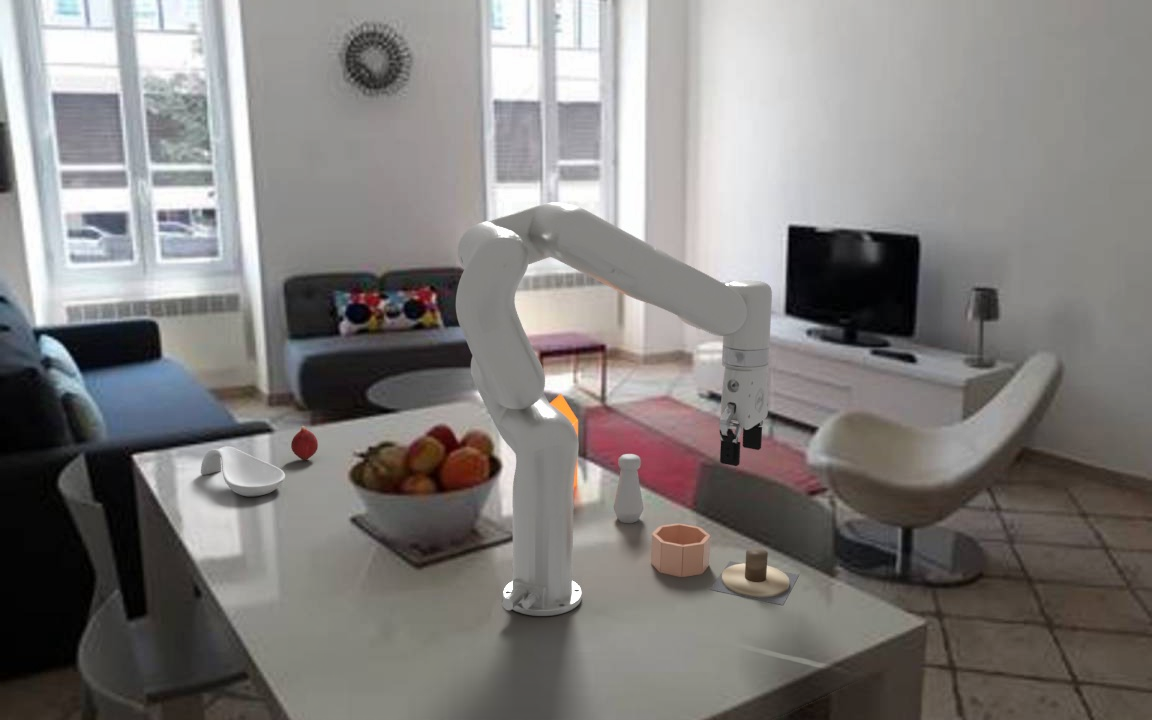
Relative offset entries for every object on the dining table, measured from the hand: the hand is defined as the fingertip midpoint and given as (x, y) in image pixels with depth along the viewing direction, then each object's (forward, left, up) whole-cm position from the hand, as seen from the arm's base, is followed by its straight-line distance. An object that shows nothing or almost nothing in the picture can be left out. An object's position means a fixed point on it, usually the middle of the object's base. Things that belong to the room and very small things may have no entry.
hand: (740, 456), depth 158 cm
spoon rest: (-7, +105, -21) cm, 108 cm away
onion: (+12, +104, -21) cm, 106 cm away
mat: (-4, -5, -21) cm, 21 cm away
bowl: (-3, +9, -21) cm, 23 cm away
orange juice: (+21, +45, -21) cm, 53 cm away
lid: (-4, -5, -20) cm, 21 cm away
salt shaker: (+13, +25, -21) cm, 35 cm away
